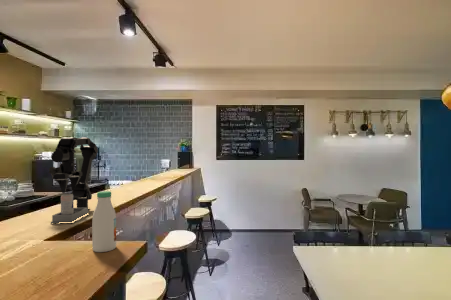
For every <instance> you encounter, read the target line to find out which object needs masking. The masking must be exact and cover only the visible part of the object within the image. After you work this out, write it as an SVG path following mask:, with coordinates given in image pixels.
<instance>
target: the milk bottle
mask: <svg viewBox="0 0 451 300" xmlns="http://www.w3.org/2000/svg"><path fill="white" fill-rule="evenodd" d="M96 196H97V197H96V198H97V203H96V206H95V208H94V211H93V214H92V220H91V221H92V222H91V223H92V226H91V227H92V228H91V231H92V233H91V235H92V240H91V241H92V244H91V245H92V246H91V247H92V251H93V252H95V253H104V252H110V251H113V250H115V249H116V247H117V214H116V210H115V208H114V206H113V204H112V201H111V200H112V199H111V198H112V191H107V190H106V191H105V190H104V191H97V193H96Z"/></svg>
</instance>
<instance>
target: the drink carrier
mask: <svg viewBox="0 0 451 300" xmlns="http://www.w3.org/2000/svg"><path fill="white" fill-rule="evenodd" d="M88 208H89V207H88ZM88 208H77V207H73V209H74V213H73V214H71V215H61V211H60V212H58V213H55V214H53V215H52V217H51V218H52V219H51V222H50V224H51V223H59V222H72V221H74V220H76V219H77V218H79V217H81V216H83V215H85V214H87V213H89V210H88Z"/></svg>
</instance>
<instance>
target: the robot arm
mask: <svg viewBox="0 0 451 300" xmlns="http://www.w3.org/2000/svg"><path fill="white" fill-rule="evenodd" d="M78 146H80V147H79V150H80V152H81V155H82V162H81V163H82V164H81V168H80V170H75V166H76V165H77V163H75V154H76V153H77V151H76V150H75V148H78ZM98 152H99V149H98V147H97V145H96V144H95V143H94V142H93V141H92V140H91V139H90V138H89V137H79V138H77V137H74V136H73V137H60V139H59V141H58V143H57V145H56V147H55V150H54V151H53V152H52V153H51V155H50V158H51V160H52V162H54V163H60V164H59V166H57V167H55V166H50V167H49V170H48V174H51V175H50V176H52V178H51V179H52V180H53V181H56V183H58V186H59V187H60V190H61V192H62V193H63V194H66V190H67V187H68V184H69V180H70V189H71V194H73V201H76V208H89V200H92V198H93V197H92V196H93V195H92V192H91V190H90V186H89V183H88V182H89V177H90V172H91V168H92V164H93V161H94V159H96V157H97V155H98Z"/></svg>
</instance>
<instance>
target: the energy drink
mask: <svg viewBox="0 0 451 300" xmlns="http://www.w3.org/2000/svg"><path fill="white" fill-rule="evenodd" d="M73 208H74V200H73V194H72V193H63V194H61V196H60V212H61V215H71V214H73V213H74V209H73Z"/></svg>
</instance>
